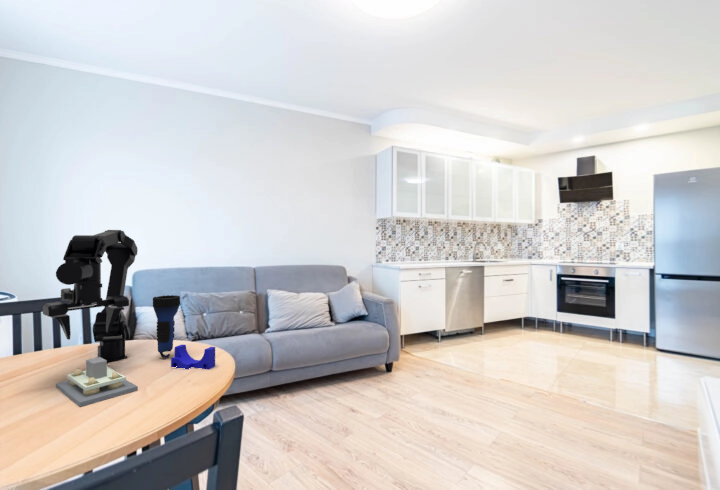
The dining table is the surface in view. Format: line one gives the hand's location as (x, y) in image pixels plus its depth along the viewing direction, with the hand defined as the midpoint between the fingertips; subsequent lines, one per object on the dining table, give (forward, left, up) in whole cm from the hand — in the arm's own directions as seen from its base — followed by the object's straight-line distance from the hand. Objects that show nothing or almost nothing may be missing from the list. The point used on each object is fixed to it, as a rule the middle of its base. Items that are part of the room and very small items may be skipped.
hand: (88, 335), depth 102 cm
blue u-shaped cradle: (-22, +15, -12) cm, 29 cm away
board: (+2, +12, -9) cm, 15 cm away
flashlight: (-21, 0, -12) cm, 24 cm away
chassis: (+2, +12, -11) cm, 17 cm away
